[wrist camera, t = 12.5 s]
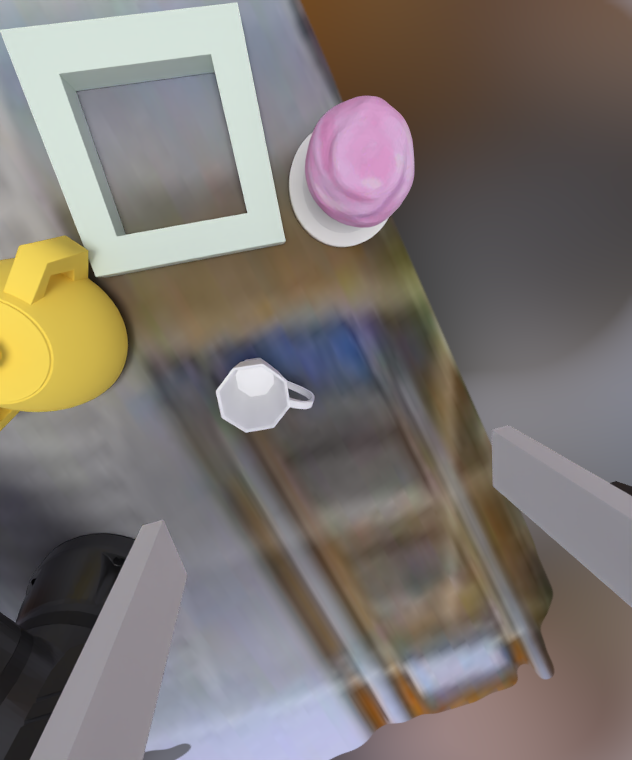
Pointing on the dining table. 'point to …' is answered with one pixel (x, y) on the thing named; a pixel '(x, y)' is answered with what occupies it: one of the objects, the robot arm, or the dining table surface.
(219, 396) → the cup
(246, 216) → the frame
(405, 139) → the cupcake
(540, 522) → the robot arm
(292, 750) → the dining table surface
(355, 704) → the dining table surface
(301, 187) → the plate
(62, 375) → the teapot
